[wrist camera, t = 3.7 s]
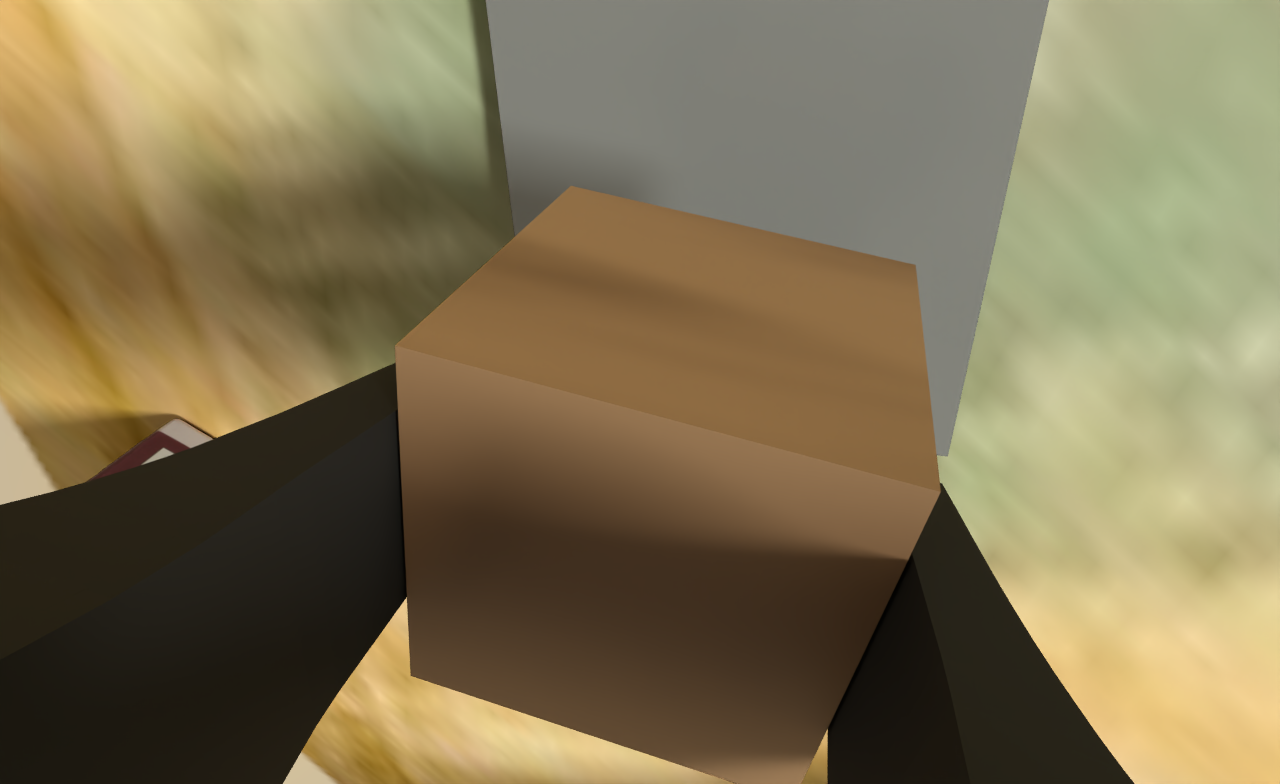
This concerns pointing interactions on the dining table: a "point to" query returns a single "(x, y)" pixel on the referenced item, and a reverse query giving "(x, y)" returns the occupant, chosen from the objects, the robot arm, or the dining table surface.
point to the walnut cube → (664, 479)
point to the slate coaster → (785, 127)
